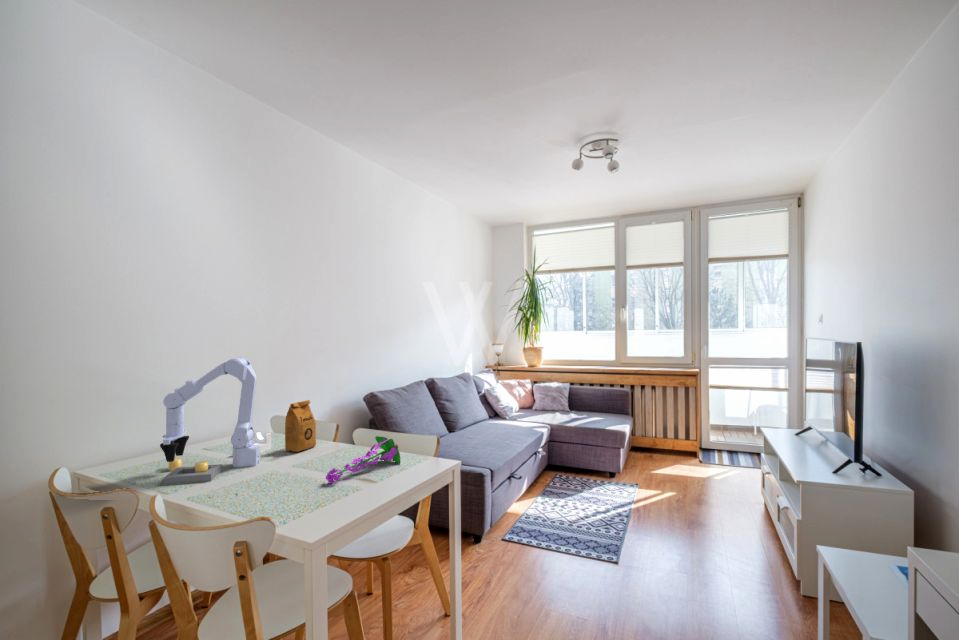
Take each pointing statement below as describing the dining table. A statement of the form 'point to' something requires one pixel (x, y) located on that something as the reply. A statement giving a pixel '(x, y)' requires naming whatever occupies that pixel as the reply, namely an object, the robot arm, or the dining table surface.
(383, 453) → the purple green flared piece
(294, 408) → the coffee package
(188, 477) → the grey tray
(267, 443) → the bracket
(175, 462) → the yellow oval lump
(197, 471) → the yellow potato
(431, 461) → the dining table surface
